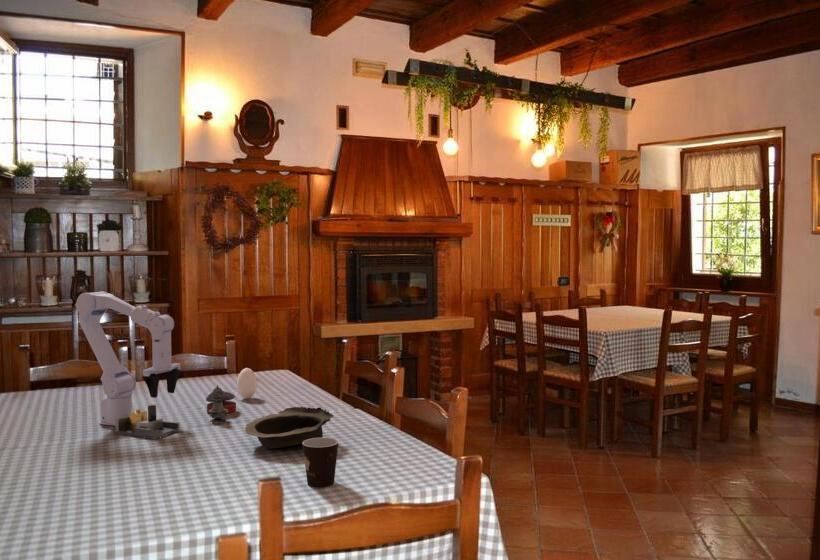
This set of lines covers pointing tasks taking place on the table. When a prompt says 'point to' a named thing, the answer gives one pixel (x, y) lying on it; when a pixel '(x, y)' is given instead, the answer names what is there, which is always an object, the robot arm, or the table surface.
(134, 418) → the gold bell
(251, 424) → the stone bowl
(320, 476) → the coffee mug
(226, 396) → the canned food
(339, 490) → the table surface
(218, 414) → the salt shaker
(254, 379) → the egg
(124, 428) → the press frame
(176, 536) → the table surface
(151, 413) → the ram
